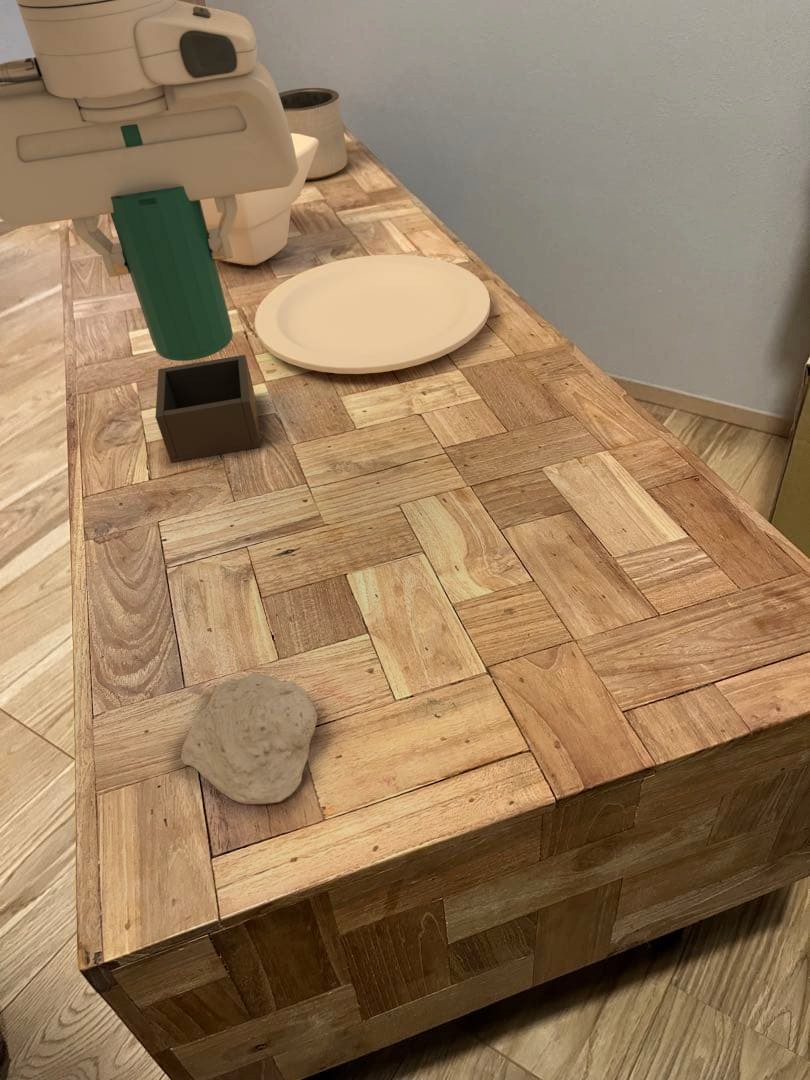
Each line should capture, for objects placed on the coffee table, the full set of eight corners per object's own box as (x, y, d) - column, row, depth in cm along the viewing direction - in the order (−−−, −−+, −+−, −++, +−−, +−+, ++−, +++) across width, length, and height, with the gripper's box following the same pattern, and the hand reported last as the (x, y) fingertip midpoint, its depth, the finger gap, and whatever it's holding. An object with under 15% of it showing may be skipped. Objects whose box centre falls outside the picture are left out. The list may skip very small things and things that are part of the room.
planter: (363, 165, 141) (355, 93, 133) (308, 188, 134) (297, 114, 127) (314, 152, 147) (304, 83, 140) (260, 174, 141) (246, 103, 134)
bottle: (153, 366, 61) (77, 139, 50) (157, 328, 66) (88, 111, 55) (233, 353, 62) (175, 125, 51) (232, 316, 66) (178, 99, 55)
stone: (167, 679, 58) (297, 633, 57) (198, 715, 61) (322, 672, 60) (157, 802, 51) (306, 752, 50) (193, 836, 54) (335, 789, 53)
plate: (214, 367, 95) (209, 349, 93) (320, 262, 113) (317, 246, 112) (444, 402, 86) (443, 383, 84) (518, 282, 104) (518, 265, 103)
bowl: (266, 296, 107) (244, 186, 97) (156, 273, 115) (125, 169, 105) (344, 239, 118) (331, 136, 109) (239, 222, 126) (217, 124, 117)
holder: (170, 462, 82) (155, 416, 78) (172, 413, 88) (158, 368, 84) (261, 447, 82) (249, 400, 79) (255, 399, 89) (245, 354, 85)
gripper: (-78, 84, 47) (19, 307, 57) (277, 36, 49) (314, 260, 58) (-52, 58, 52) (34, 268, 61) (271, 15, 53) (306, 226, 63)
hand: (173, 264), depth 60 cm, fingers closed on bottle, 6 cm apart
